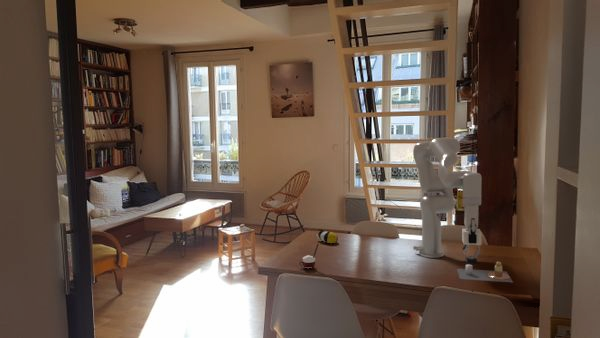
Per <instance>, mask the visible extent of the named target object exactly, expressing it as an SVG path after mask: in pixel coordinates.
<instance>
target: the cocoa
mask: <svg viewBox="0 0 600 338" xmlns="http://www.w3.org/2000/svg"><path fill="white" fill-rule="evenodd" d="M318 247H319V243H317V244H316V247H315V249H314V253H313V255H305V256H303V257H302V261H300V262H299V265H300V266H301V267H302V266H304V267H315V265H316V258H315V256H316V254H317V251H318ZM304 267H303V268H304Z"/></svg>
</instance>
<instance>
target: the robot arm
mask: <svg viewBox="0 0 600 338" xmlns="http://www.w3.org/2000/svg"><path fill="white" fill-rule="evenodd" d="M460 150H461V144H460V142H459V140H458V139H457V138H455V137H437V138H434V139H432V140H430V141H420V142H417V143H416V144H415V145H414V146H413V150H412V155H413V160H414V162H415V164H416V167H417V173H418V178H419V185H420V189H421V191H422V192H423V193H424V194H430V195H425V196H423V197H422V198H421V199H420V202H419V206H420V210H421V211H420V212H421V245H419V246H417V245H413V246H412V247H413V250H414V251H418V255H419V256H421V257H424V258H430V259H438V258H439V259H440V258H443V257H444V256H445V253H444V251H442V222H441V221H442V220H441V219H440V217H439V216H438V215H437V214H447V213H451V212H453V211H454V210H455V198H454V197H455V196H454V191H453V189H458V188H459V189H460V188H462V205H464V217H463V218H464V219H463V220H464V221H463V223H464V226H465V228H467V229H469V243H477V234H476V229H478V227H479V206H481V205H482V181H483V180H482V175H481V173H479V172H473V171H471V170H457V171H456V170H452V171H451V170H449V168H451V167H453V166H454V165H456V163H457V162H458V155H457V154H458V153H459V151H460ZM429 158H435V159H436V160H437V161H438V163H439V164H438V166H437V172H436V169H435V168H436V167H435V165H434V163H433V162H432V161H431V160H430V159H429ZM436 173H437V174H436ZM435 193H436V194H435ZM437 193H439V194H437ZM431 194H433V195H431Z"/></svg>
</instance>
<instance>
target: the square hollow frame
mask: <svg viewBox="0 0 600 338" xmlns="http://www.w3.org/2000/svg"><path fill="white" fill-rule="evenodd" d="M461 229H462V230H461V241H462V243H463V245H464V244H465V245H470V246H477V245H478V246H482V237H483V236H482V234H483V233H482V231H481V228H476V234H477V243H469V229H467V228H466V227H465V228H463V227H462V228H461Z"/></svg>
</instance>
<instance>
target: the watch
mask: <svg viewBox="0 0 600 338" xmlns="http://www.w3.org/2000/svg"><path fill="white" fill-rule="evenodd" d="M476 246H477V250H476V252H475V254H474V256H471V255H467V254H466V253H467V251H468V250H469V248H470V247H471V245H465V244H463V247H462V248H461V251H462V253H463V255H464V256H465V257H464V260H465V262H466V263H467V264H478V259H477V257H478V256H479V255H480V253H481V248H480V245H476Z"/></svg>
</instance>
